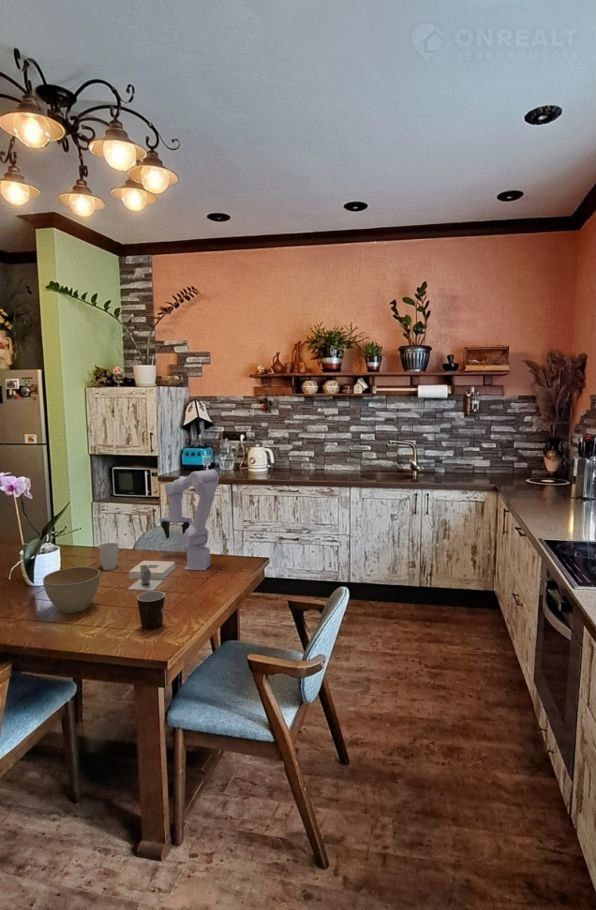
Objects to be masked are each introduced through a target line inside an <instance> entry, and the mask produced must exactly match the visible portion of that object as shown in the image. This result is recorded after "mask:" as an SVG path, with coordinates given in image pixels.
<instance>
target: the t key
mask: <svg viewBox="0 0 596 910" xmlns="http://www.w3.org/2000/svg"><path fill="white" fill-rule="evenodd" d="M140 572H141V574H142V575H141V578H142V579H141V580H142V586H148V585H150V577H151V575H150V570H149V568H148V566H147V565H142V566H140Z"/></svg>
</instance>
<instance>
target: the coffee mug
mask: <svg viewBox="0 0 596 910" xmlns="http://www.w3.org/2000/svg"><path fill="white" fill-rule="evenodd" d="M165 595H166V594H165V593H164V592H163V591H157V590H154V591H144V592H142V593H140V594H138V595H137V597H136V600H137V608H138V613H139V618H140V625H141V629H142V630H144V631H156V630H159V629H161V628H162V627H161V626H163V619H164V608H165V597H166V596H165ZM158 628H159V629H158ZM155 629H156V630H155Z"/></svg>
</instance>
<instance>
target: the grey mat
mask: <svg viewBox="0 0 596 910" xmlns="http://www.w3.org/2000/svg"><path fill="white" fill-rule="evenodd" d="M163 583H164V580H150V585H148V586H142V579H137V581H136V582H134V583H133V584H132V585H130V587H128V588H127V590H128V591H133V590H136V591H138V592H150V591H156V590H157V589H158V588H159V587H160V586H161V585H162V584H163ZM157 587H158V588H157Z"/></svg>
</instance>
